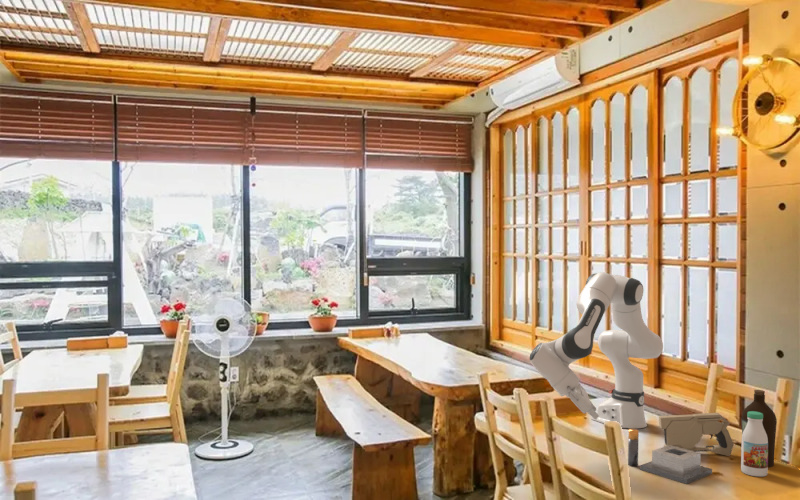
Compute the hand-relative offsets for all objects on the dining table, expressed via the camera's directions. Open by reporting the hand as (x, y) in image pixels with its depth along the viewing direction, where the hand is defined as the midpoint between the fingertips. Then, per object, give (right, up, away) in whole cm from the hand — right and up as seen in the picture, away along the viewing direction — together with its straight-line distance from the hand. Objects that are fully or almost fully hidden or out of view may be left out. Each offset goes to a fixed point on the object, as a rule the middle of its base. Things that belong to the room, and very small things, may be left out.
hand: (596, 414), depth 221 cm
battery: (+12, -17, -2) cm, 21 cm away
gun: (+39, -17, +11) cm, 44 cm away
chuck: (+24, -17, -8) cm, 30 cm away
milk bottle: (+49, -17, -9) cm, 53 cm away
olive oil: (+56, -17, +2) cm, 59 cm away
